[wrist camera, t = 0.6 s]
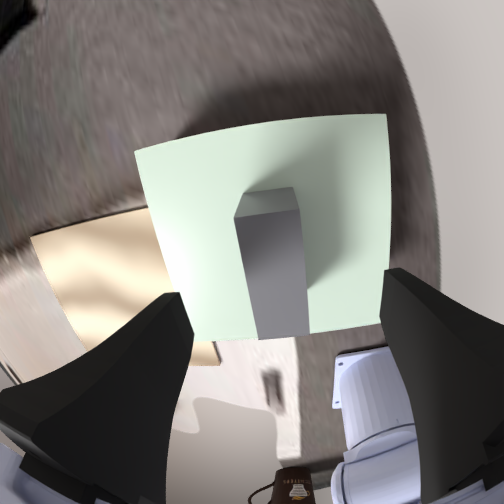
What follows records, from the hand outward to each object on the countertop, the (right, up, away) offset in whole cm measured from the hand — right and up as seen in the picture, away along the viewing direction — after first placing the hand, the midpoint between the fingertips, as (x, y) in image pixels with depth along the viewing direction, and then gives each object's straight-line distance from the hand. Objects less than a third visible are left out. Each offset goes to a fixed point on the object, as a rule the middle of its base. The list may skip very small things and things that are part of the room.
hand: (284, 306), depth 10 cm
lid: (0, +3, +7) cm, 8 cm away
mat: (-13, -3, +14) cm, 19 cm away
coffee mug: (+5, -39, +31) cm, 49 cm away
